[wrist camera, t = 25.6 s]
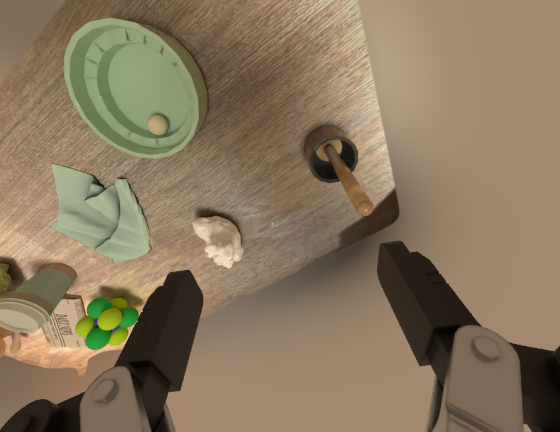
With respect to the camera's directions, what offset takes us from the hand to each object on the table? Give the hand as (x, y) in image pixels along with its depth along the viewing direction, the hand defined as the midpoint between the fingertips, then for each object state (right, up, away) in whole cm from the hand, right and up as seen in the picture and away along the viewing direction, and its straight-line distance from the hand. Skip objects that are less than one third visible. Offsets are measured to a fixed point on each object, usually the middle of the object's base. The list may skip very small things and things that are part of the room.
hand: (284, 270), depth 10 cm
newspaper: (-58, -25, +53) cm, 82 cm away
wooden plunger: (+7, +14, +29) cm, 33 cm away
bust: (-11, 0, +38) cm, 40 cm away
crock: (+7, +14, +29) cm, 33 cm away
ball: (-18, +16, +24) cm, 34 cm away
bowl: (-18, +20, +24) cm, 36 cm away
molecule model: (-40, -18, +50) cm, 66 cm away
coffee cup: (-49, -10, +44) cm, 66 cm away
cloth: (-34, +2, +36) cm, 49 cm away
